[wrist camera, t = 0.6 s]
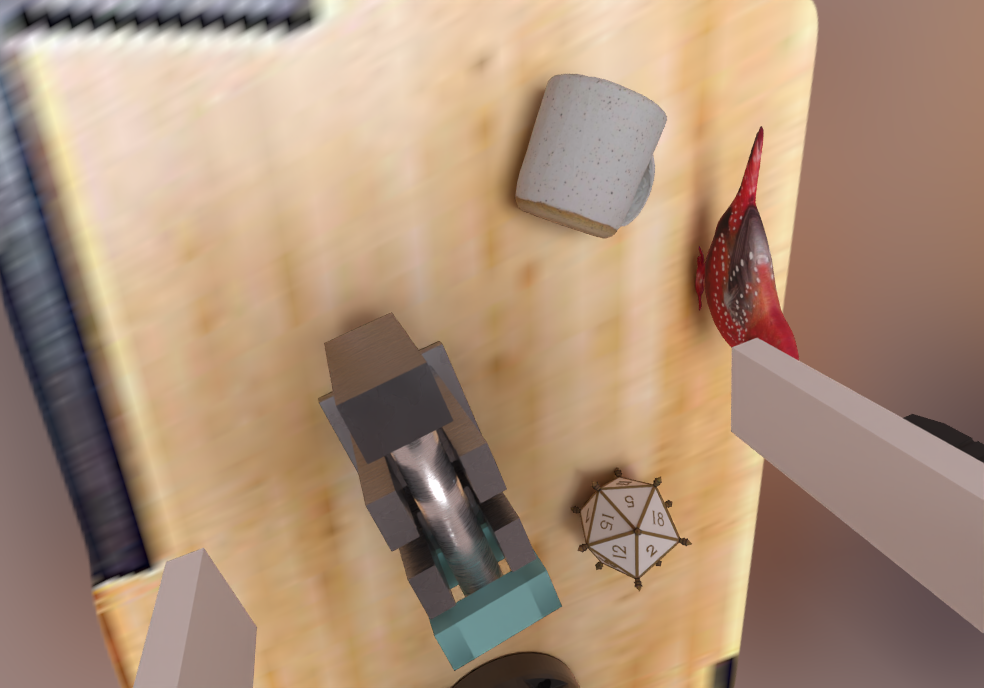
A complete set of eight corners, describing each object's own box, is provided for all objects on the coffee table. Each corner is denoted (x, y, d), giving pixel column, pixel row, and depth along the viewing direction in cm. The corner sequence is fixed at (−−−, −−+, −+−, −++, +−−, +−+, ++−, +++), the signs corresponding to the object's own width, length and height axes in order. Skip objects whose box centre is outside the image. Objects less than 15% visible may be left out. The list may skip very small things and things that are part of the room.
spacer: (517, 535, 39) (561, 606, 32) (427, 586, 37) (454, 670, 31) (503, 503, 37) (546, 570, 31) (409, 554, 36) (434, 635, 30)
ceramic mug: (492, 205, 37) (540, 214, 30) (529, 80, 36) (588, 59, 29) (618, 247, 41) (686, 263, 35) (656, 137, 40) (734, 131, 33)
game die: (599, 464, 51) (712, 491, 46) (579, 558, 50) (694, 598, 44) (560, 451, 44) (689, 481, 38) (535, 561, 42) (666, 609, 37)
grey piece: (503, 554, 38) (560, 658, 30) (451, 584, 37) (495, 698, 29) (391, 312, 31) (426, 362, 23) (324, 343, 30) (335, 405, 22)
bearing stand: (487, 452, 42) (562, 559, 31) (380, 509, 41) (415, 645, 29) (439, 340, 39) (503, 414, 27) (318, 398, 37) (330, 503, 25)
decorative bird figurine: (681, 359, 46) (776, 404, 37) (681, 134, 40) (793, 123, 31) (710, 352, 47) (809, 394, 38) (714, 130, 41) (832, 117, 32)
